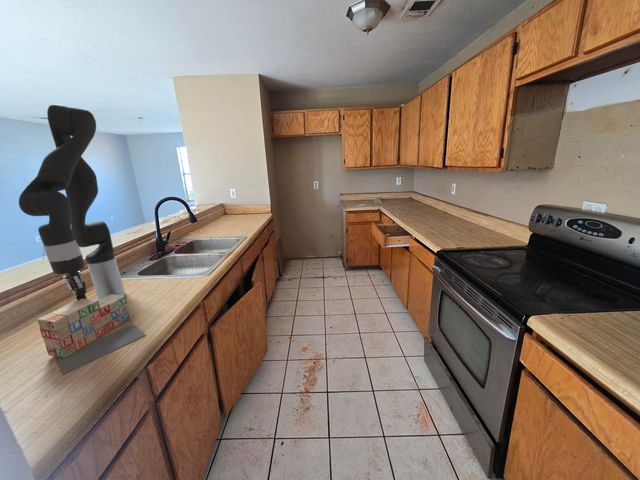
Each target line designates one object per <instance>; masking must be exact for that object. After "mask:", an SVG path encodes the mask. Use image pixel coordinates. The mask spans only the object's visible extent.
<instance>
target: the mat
mask: <svg viewBox="0 0 640 480" xmlns="http://www.w3.org/2000/svg"><path fill="white" fill-rule="evenodd" d="M146 336H147V334H146V333H144V332H143V331H142V330H141V329H139V328H138V327H137V326H136V325H135V324H130V325H127V326H125V327H123V328H121V329H118V330H115V331H114V332H112V333H109V334H107V335H104V336H101V337H100V338H97V339H95V340H94V341H92V342H91V343H89V344H87V345H86V346H84V347H82V348H81V349H79V350H78V351H75V352H74V353H72V354H71V355H69V356H67V357H66V358H62V357H57V356H55V357H54V360H55V361H56V364H57V366H58V368H59V370H60V371H61V375H63V376H64V375H66V374H68V373H70V372H73V371H74V370H77V369H79V368H81V367H83V366H85V365H88V364H89V363H91V362H93V361H95V360H98V359H99V358H102V357H104V356H106V355H108V354H110V353H112V352H114V351H117V350H119V349H121V348H123V347H125V346H126V345H129V344H131V343H133V342H135V341H137V340H139V339H142V338H143V337H146Z"/></svg>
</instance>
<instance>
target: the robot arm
mask: <svg viewBox="0 0 640 480" xmlns="http://www.w3.org/2000/svg"><path fill="white" fill-rule="evenodd" d="M46 113H47V122H48V125H49V129H50V131H51V136H52V139H53V142H54V145H55V149H53V150H52V151H50V152H49V153H48V154H47V155H46V156H45V157H44V159H42V162H41V164H40V167H39V169H38V172H37V176H36V177H35V178H33V180H31V181H30V183H28V185H27V186H26V187H25V189H23V191H22V192H21V194H20V195H19V198H18V206H19V208H20V210H21V211H22V212H23V213H24V214H25V215H28V216H32V217H45V216H46V217H47V216H48V219H49V220H48V222H47V223H45V224H42V225H40V226H39V227H38V231H37V232H38V234H39V237H40V239H41V241H42V244H43V247H44V252H45V255H46V257H47V260H48V262H49V265H50V267H51V269H52V272H53V274H55V275H63V280H64V281H65V282H66V285H67V287H68V288H69V290H70V291H71V292H72V294H73V295H74V296H75V299H76V301H78V300H80V299H88V298H87V296H86V294H87V285H86V282H85V280H84V275H83V273H80V270H82V269H84V268H85V267H86V265H87V268H88V271H89V274H90V276H91V277H90V278H91V280H92V284H93V287H94V290H95V293H96V296H97V300H100V299H102V298H104V297H106V296H108V295H110V294H114V295H123V296H126V291H125V288H124V284H123V280H122V276H121V273H120V270H119V267H118V264H117V263H118V262H117V260H116V256H115V251H114V250H115V249H114V246H113V242H112V236H111V231H110V228H109V227H108V225H107V224H106V222H104V221H102V220H97V221H90V222H86V218H87V217H86V216H87V213H88V211H89V210H90V208H91V206H92V205H93V203H94V201H95V200H96V198H97V196H98V194H99V187H98V186H99V185H98V179H97V175H96V173H95V171H94V170H93V169H92V167H91V166H90V165H89V164H88V162H87V161H86V160H85V159H84V158H83V157H82V156H83V154H84V153H85V152H86V150H87V148H88V147H89V146H90V144H91V142H92V140H93V138H94V137H95V134H96V130H97V121H96V118H95V117H94V114H93V113H92V112H90V111H89V110H87V109H84V108H80V107H73V106H69V105H62V104H58V103H52V104H50V105H49V106H48V108H47V112H46ZM63 190H64V191H65V194H64V193H62V192H61V191H63ZM96 245H98V246H97V248H95V250H93V251H92V252H90V253H88V254H86V256H85V257H83V254H82V252H81V249H80V248H87V247H88V248H89V247H92V246H96ZM84 258H85V260H84ZM85 262H86V263H85Z"/></svg>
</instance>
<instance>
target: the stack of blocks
mask: <svg viewBox="0 0 640 480" xmlns="http://www.w3.org/2000/svg"><path fill="white" fill-rule="evenodd" d="M36 319H37V323H38V326H39V331H40V334H41V337H42V339H43V342H44V345H45V348H46V351H47V354H48V356H52V357H62V358H66V357H67V356H69V355H71V354H72V353H74V352H75V351H78V350H79V349H81V348H82V347H84V346H86V345H87V344H89V343H91V342H93V341H95V340H97V339H99V337H100V338H101V337H103V335H105V334H106V333H108V332H110V331H112V330H113V329H115V328H116V327H118V326H120V325H121V324H123V323H124V322H126V321H127V320H130V319H131V316H130V311H129V306H128V302H127V298H126V295H124V296H123V295H114V294H110V295H108V296H106V297H104V298H102V299H100V300H98V299H91V298H89V299H88V298H87V299H80V300H78V301H77V300H76V301H73V302H72V303H69V304H67V305H65V306H62V307H61V308H59V309H56V310H54V311H52V312H50V313H47V314H45V315H43V316H41V317H38V318H36Z"/></svg>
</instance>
